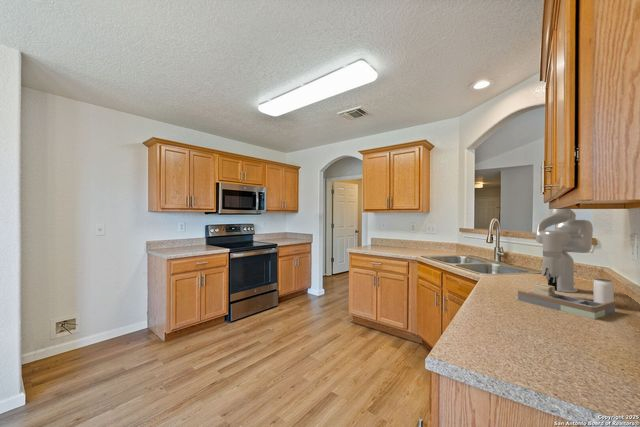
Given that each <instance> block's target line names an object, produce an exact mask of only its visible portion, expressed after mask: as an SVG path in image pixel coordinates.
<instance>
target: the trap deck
mask: <svg viewBox="0 0 640 427" xmlns="http://www.w3.org/2000/svg"><path fill="white" fill-rule="evenodd" d="M517 301H521V302H525V303H529V304H533V305H537V306H540V307H544V308H549V309H552V310H557V311H561V312H564V313H569V314H573V315H577V316H581V317H585V318H589V319H593V320H597V319H600V318H602V317H604V316H608V315H611V314H613V313H615V312H616V304H615V303H616V302H615V301H610V302H607V303H603V304H602V303H597V302H594V301H591V300H587V299H583V298H577V297H573V296H569V295H568V296H567V295H563V294H558V293H555V295H550V296H547V295H542V294H538V293H534V291H529V292H527V291H523V290H517Z"/></svg>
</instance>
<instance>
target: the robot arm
mask: <svg viewBox="0 0 640 427" xmlns="http://www.w3.org/2000/svg"><path fill="white" fill-rule="evenodd" d="M576 217H577V214H576V213H575V211H573V210H572V208H571V209H551V208H550V211H549V215H548V216H546V217H544V218H543V219H541V221H540V222H538V224H537V227H536V231H535V234H534V235H535V240H536V243H538V244H542V262H541V275H542V276H543V277H545V280H547V285H549V286H554V287H555V291H557V292H563V293H578V289H577V288H576V287H575V285H576V283H575V277H574V276H575V275H574V272H575V271H574V269H575V268H574V267H575V265H574V259H573V256H571V255H570V254H569V253H579V254H585V253H586V254H587V253H589V252H590V251H591V249H592V246H593V245H592V244H593V231H594V228H593V223H592V222H591V221H589V220H586V219H576ZM552 226H554V230H546V229H547V228H549V227H552Z"/></svg>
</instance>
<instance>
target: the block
mask: <svg viewBox="0 0 640 427" xmlns="http://www.w3.org/2000/svg"><path fill="white" fill-rule="evenodd" d="M533 287H534V288H533V289H534V290H533V292H534V293H538V294H542V295H547V296H550V295H555V294H556V292H555V287H554V286H549V285H548V284H545V283H544V284H542V283H539V284H534V285H533Z"/></svg>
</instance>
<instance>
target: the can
mask: <svg viewBox="0 0 640 427" xmlns="http://www.w3.org/2000/svg"><path fill="white" fill-rule="evenodd" d="M592 289H593V302H597V303H602V304H603V303H607V302H610V301H614V298H615V297H614V296H615V295H614V283H613V280H611V279H605V278H594V281H593V288H592ZM614 302H615V301H614Z"/></svg>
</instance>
